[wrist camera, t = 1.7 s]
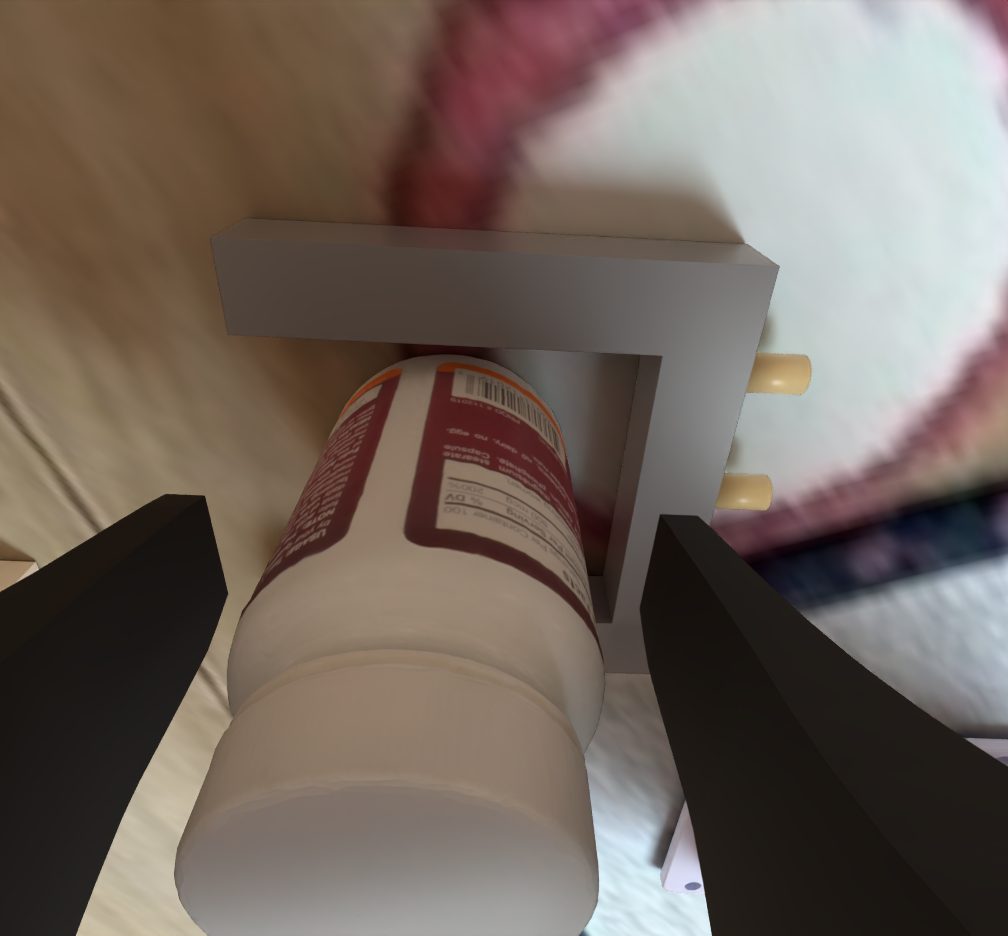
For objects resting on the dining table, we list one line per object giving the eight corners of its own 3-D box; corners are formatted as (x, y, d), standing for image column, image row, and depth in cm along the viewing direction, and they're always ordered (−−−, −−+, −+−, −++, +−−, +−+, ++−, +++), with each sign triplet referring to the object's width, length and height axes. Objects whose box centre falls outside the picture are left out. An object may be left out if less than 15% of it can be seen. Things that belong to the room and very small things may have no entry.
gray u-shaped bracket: (817, 248, 11) (858, 269, 10) (704, 627, 16) (722, 676, 14) (245, 218, 11) (209, 237, 9) (306, 611, 15) (287, 660, 14)
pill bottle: (376, 563, 15) (252, 1027, 7) (301, 373, 12) (9, 794, 5) (583, 529, 14) (661, 994, 7) (547, 324, 12) (609, 716, 5)
